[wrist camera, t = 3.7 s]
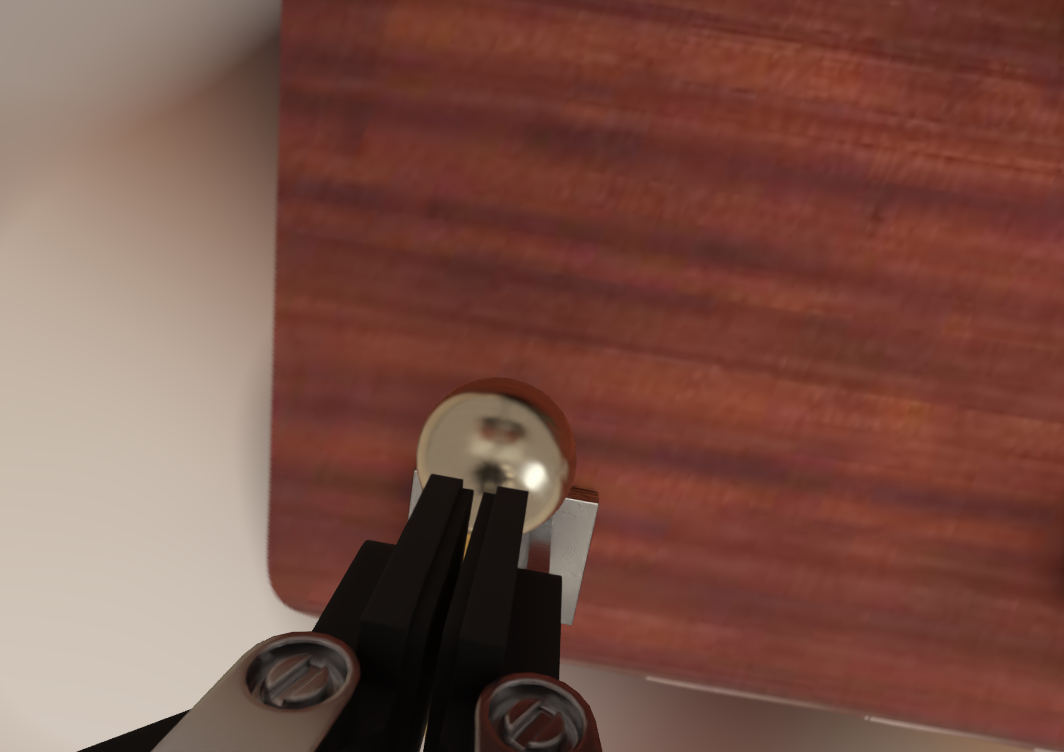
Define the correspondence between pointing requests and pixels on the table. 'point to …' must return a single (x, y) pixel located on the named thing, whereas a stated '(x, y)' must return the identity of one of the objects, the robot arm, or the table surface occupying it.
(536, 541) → the bracket
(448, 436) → the lever
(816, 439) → the table surface
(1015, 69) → the table surface
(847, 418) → the table surface
